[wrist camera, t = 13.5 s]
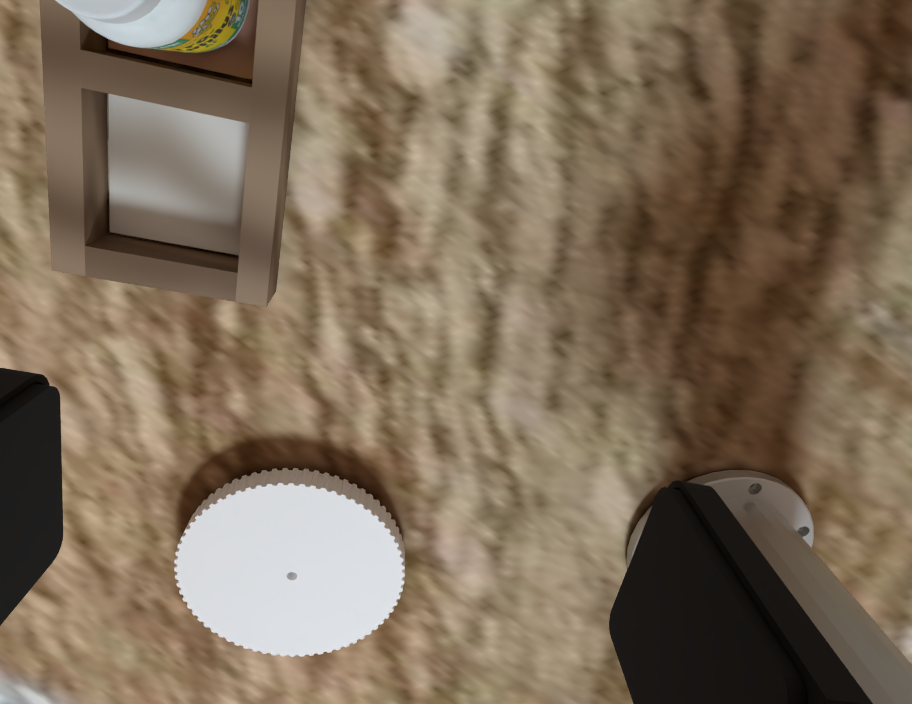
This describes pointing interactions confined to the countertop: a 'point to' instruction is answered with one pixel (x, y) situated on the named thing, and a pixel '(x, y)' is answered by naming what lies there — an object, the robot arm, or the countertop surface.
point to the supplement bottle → (164, 22)
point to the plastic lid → (291, 562)
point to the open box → (171, 155)
